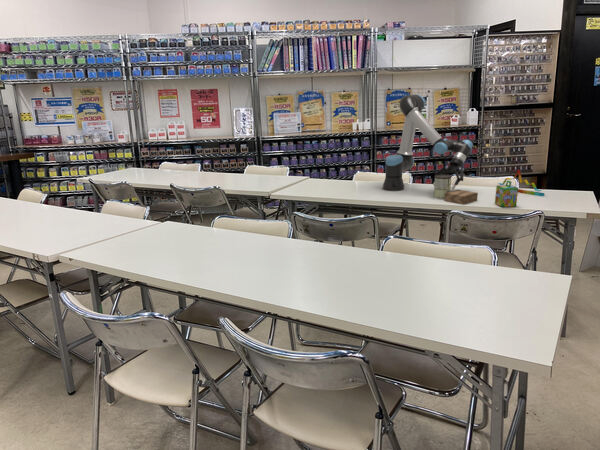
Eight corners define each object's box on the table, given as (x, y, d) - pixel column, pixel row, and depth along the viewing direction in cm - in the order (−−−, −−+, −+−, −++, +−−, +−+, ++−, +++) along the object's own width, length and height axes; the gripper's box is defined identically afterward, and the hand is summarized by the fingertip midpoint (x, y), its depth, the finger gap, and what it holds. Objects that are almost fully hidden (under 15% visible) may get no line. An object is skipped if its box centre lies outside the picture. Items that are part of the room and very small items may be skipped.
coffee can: (432, 195, 309) (433, 174, 305) (448, 195, 308) (449, 174, 304) (435, 199, 299) (436, 177, 295) (451, 199, 298) (453, 177, 294)
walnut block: (444, 200, 294) (445, 193, 293) (457, 197, 302) (458, 189, 301) (464, 204, 284) (464, 196, 282) (477, 200, 292) (477, 192, 290)
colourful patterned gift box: (494, 204, 283) (496, 179, 279) (508, 203, 284) (511, 179, 279) (501, 207, 274) (504, 182, 270) (516, 206, 275) (519, 182, 271)
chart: (544, 196, 299) (547, 172, 295) (542, 196, 297) (544, 173, 293) (500, 189, 323) (502, 167, 318) (497, 189, 321) (499, 168, 316)
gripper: (477, 166, 299) (462, 193, 294) (443, 162, 317) (429, 187, 313) (473, 159, 294) (458, 186, 289) (439, 155, 313) (424, 181, 308)
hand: (443, 187), depth 301 cm, fingers open, 13 cm apart
